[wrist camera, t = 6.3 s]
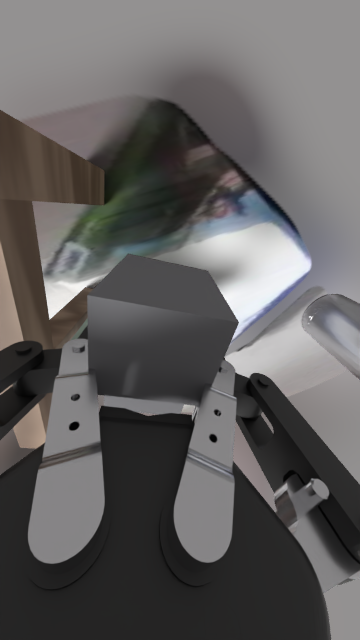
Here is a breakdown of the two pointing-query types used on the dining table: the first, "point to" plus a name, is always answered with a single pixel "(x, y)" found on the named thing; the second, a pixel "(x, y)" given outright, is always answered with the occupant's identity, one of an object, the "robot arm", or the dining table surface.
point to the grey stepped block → (156, 334)
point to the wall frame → (36, 247)
